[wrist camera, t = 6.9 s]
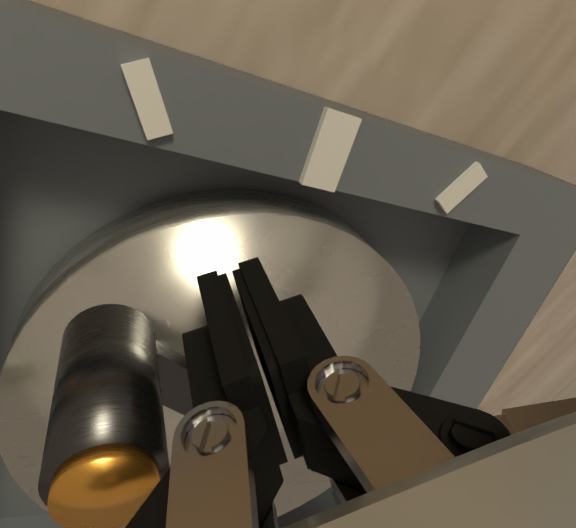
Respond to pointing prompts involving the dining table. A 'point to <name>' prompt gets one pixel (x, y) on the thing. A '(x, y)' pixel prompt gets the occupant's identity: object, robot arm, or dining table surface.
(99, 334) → the dial
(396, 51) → the dining table surface
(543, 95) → the dining table surface
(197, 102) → the housing
